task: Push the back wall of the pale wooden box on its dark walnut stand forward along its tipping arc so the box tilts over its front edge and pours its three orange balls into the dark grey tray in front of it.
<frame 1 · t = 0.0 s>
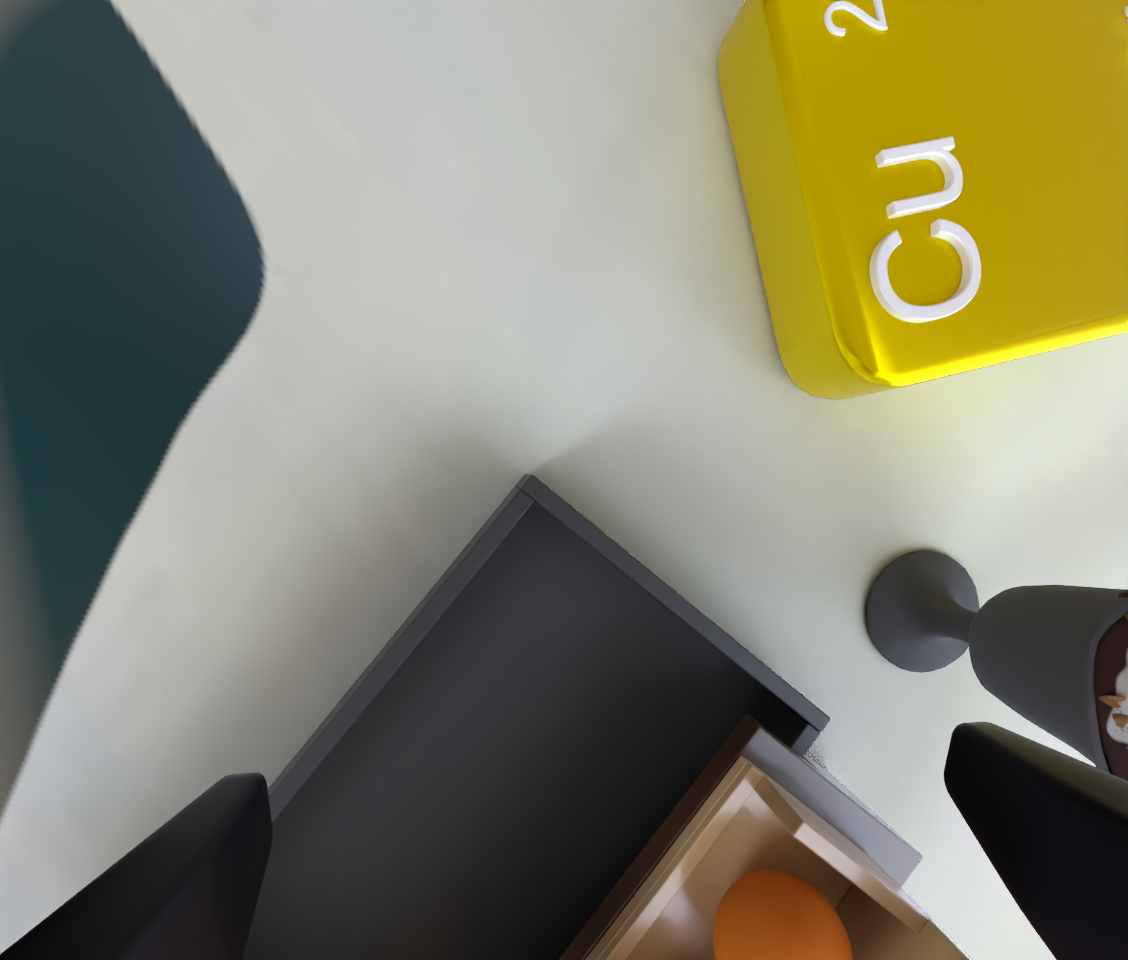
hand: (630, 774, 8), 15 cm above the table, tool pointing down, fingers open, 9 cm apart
sundae: (918, 608, 25), on the table
stand: (630, 895, 24), on the table
dark grey tray: (491, 792, 23), on the table
orange ball 3: (780, 947, 16), point 8 cm above the table, touching wooden box
yellow flat box: (916, 190, 25), on the table
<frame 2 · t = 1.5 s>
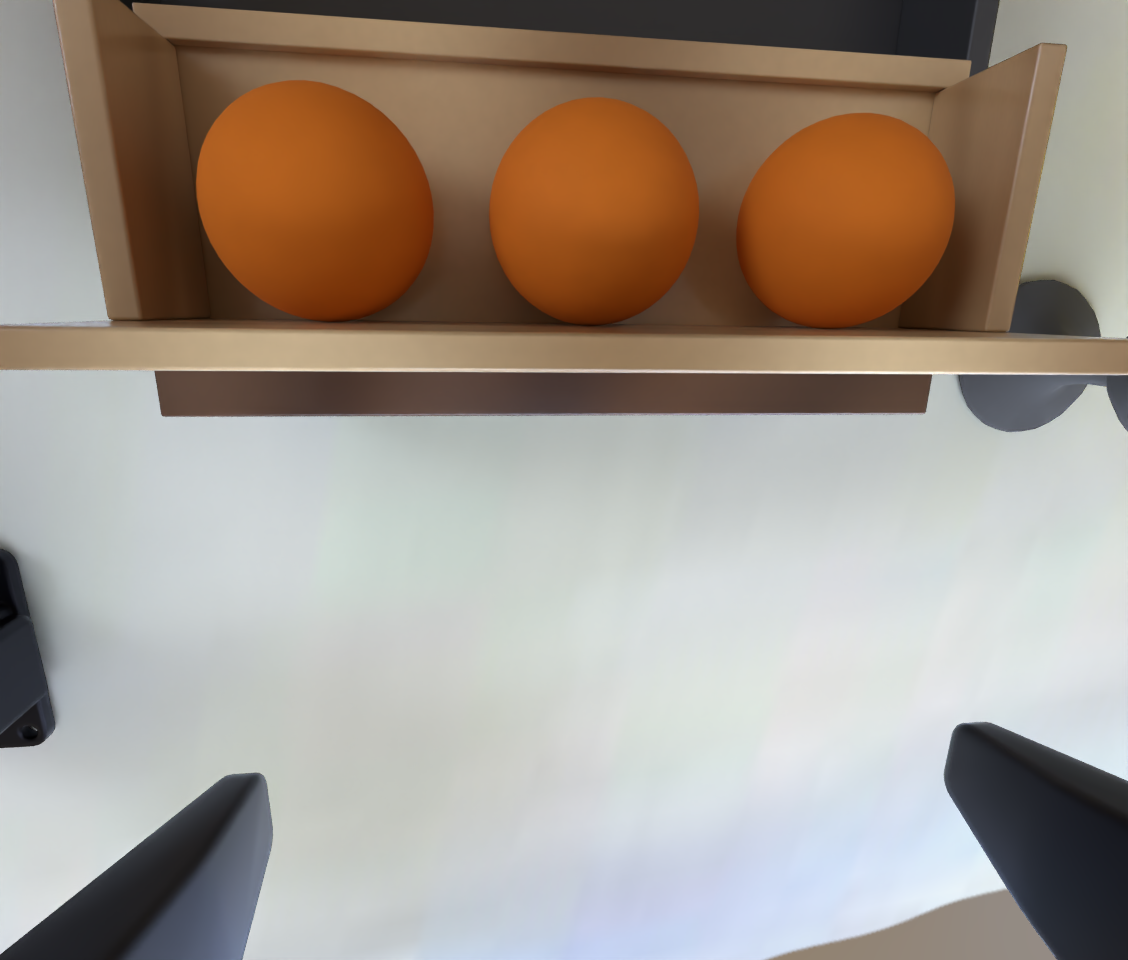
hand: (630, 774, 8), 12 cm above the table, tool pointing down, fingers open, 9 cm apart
orange ball 1: (322, 209, 10), point 8 cm above the table, tilted 16°, touching wooden box
sundae: (1023, 356, 21), on the table
orange ball 2: (593, 218, 10), point 8 cm above the table, tilted 16°, touching wooden box
wooden box: (599, 180, 10), point 8 cm above the table, hinge at -0.1°, touching orange ball 1, orange ball 2, orange ball 3
stand: (549, 265, 18), on the table
orange ball 3: (838, 227, 11), point 8 cm above the table, tilted 16°, touching wooden box
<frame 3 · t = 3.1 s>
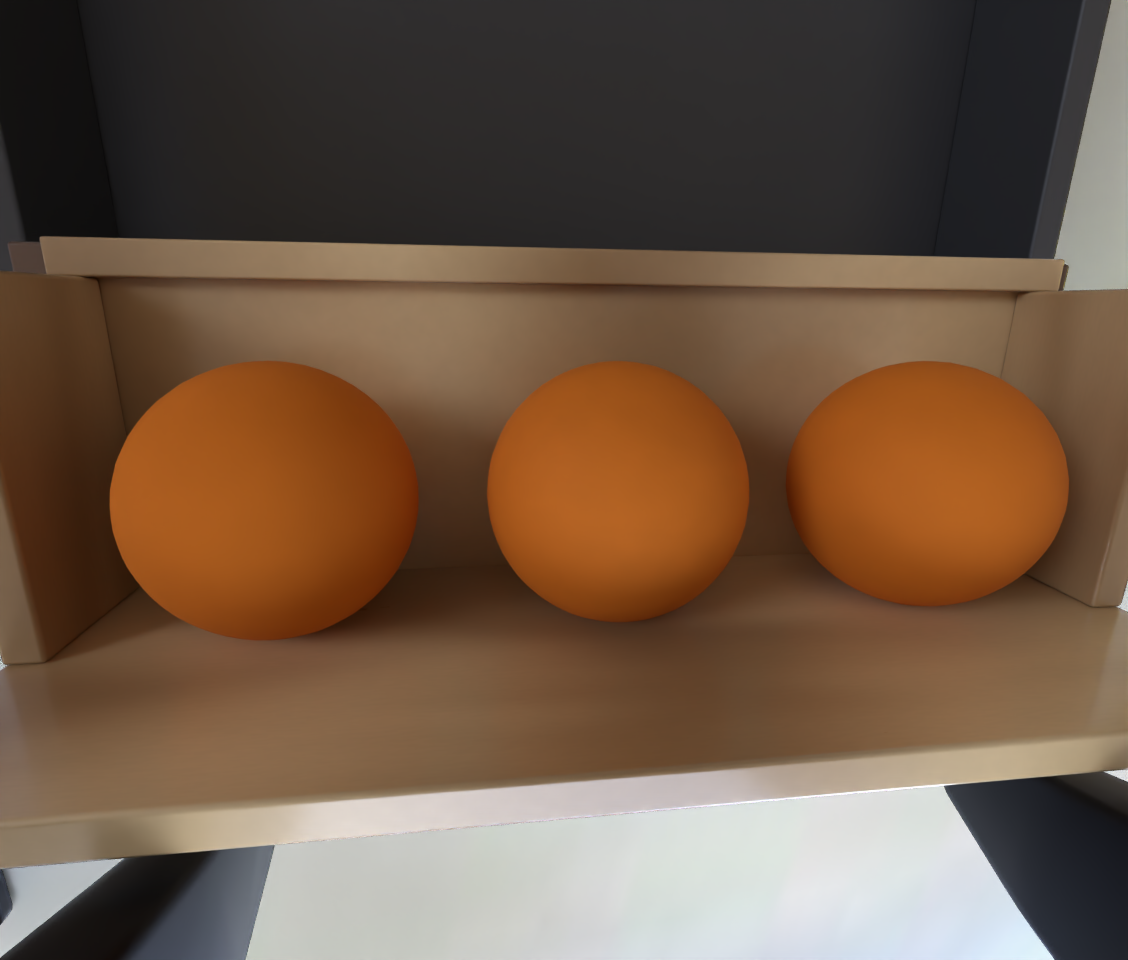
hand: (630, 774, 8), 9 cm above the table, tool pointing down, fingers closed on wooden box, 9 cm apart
orange ball 1: (278, 499, 8), point 8 cm above the table, tilted 15°, touching wooden box
orange ball 2: (615, 491, 8), point 8 cm above the table, tilted 15°, touching wooden box
wooden box: (625, 465, 8), point 8 cm above the table, hinge at 0.7°, touching gripper, orange ball 1, orange ball 2, orange ball 3
stand: (554, 411, 16), on the table
dark grey tray: (556, 111, 14), on the table
orange ball 3: (913, 483, 9), point 8 cm above the table, tilted 15°, touching wooden box
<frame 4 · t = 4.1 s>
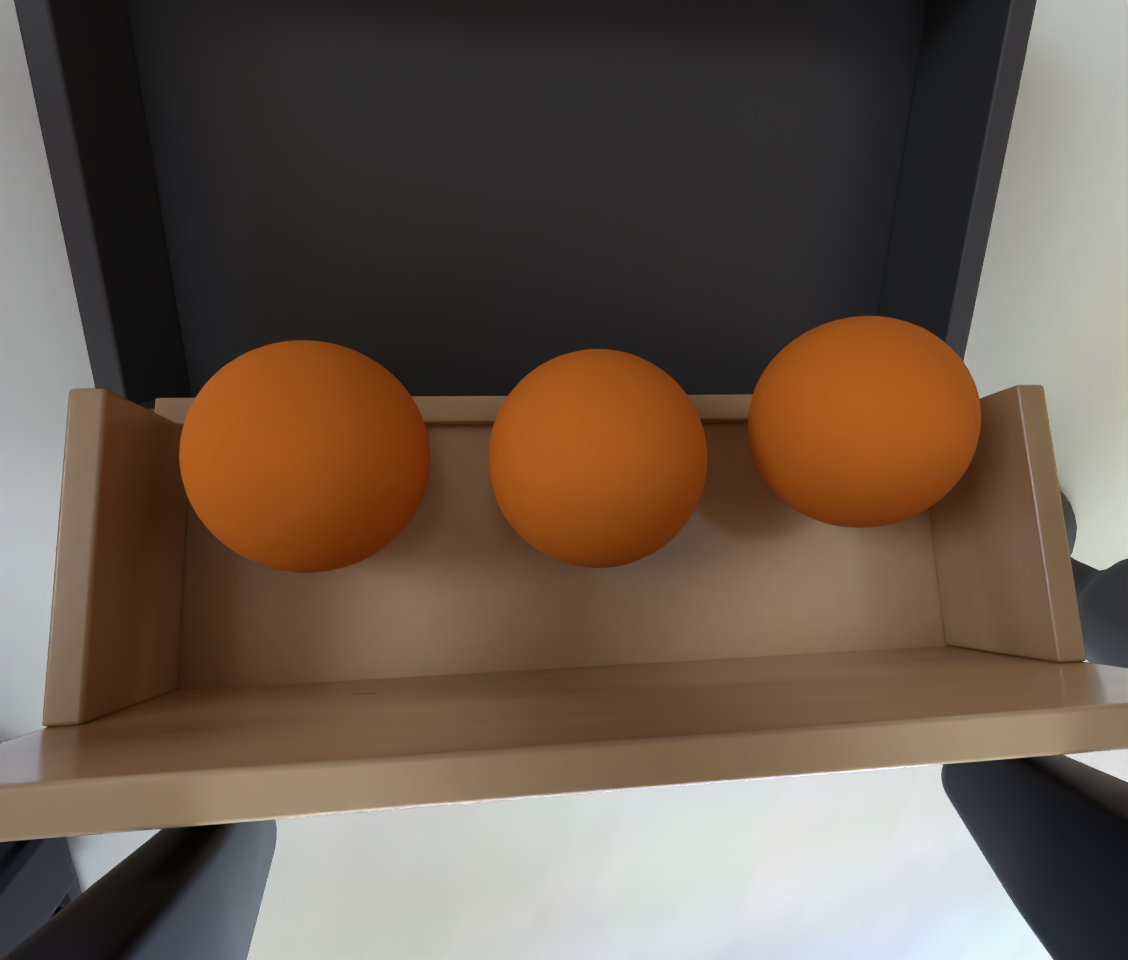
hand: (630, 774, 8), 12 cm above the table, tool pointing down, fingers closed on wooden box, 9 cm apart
orange ball 1: (313, 457, 9), point 8 cm above the table, tilted 70°, touching wooden box
sundae: (1002, 542, 22), on the table
orange ball 2: (596, 459, 10), point 8 cm above the table, tilted 66°, touching wooden box
wooden box: (606, 534, 9), point 9 cm above the table, hinge at 25.9°, touching gripper, orange ball 1, orange ball 2, orange ball 3
dark grey tray: (549, 244, 17), on the table
orange ball 3: (855, 423, 10), point 8 cm above the table, tilted 84°, touching wooden box
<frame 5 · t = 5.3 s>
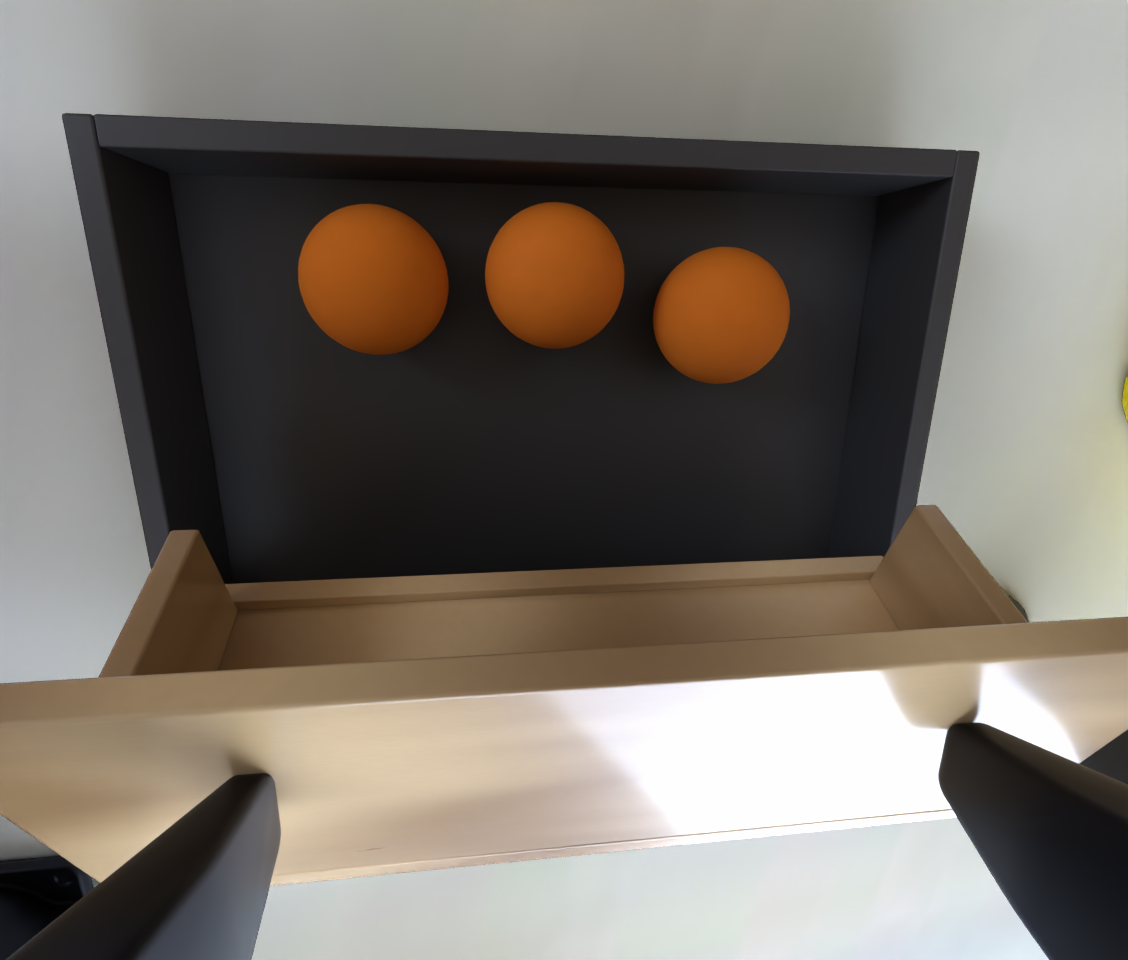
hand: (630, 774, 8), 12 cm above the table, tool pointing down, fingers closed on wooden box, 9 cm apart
orange ball 1: (375, 282, 15), point 2 cm above the table, tilted 29°, touching dark grey tray
sundae: (964, 644, 24), on the table
orange ball 2: (554, 277, 16), point 2 cm above the table, tilted 27°, touching dark grey tray
wooden box: (597, 619, 11), point 9 cm above the table, hinge at 64.3°, touching gripper
dark grey tray: (546, 405, 19), on the table
orange ball 3: (719, 317, 16), point 2 cm above the table, tilted 48°, touching dark grey tray
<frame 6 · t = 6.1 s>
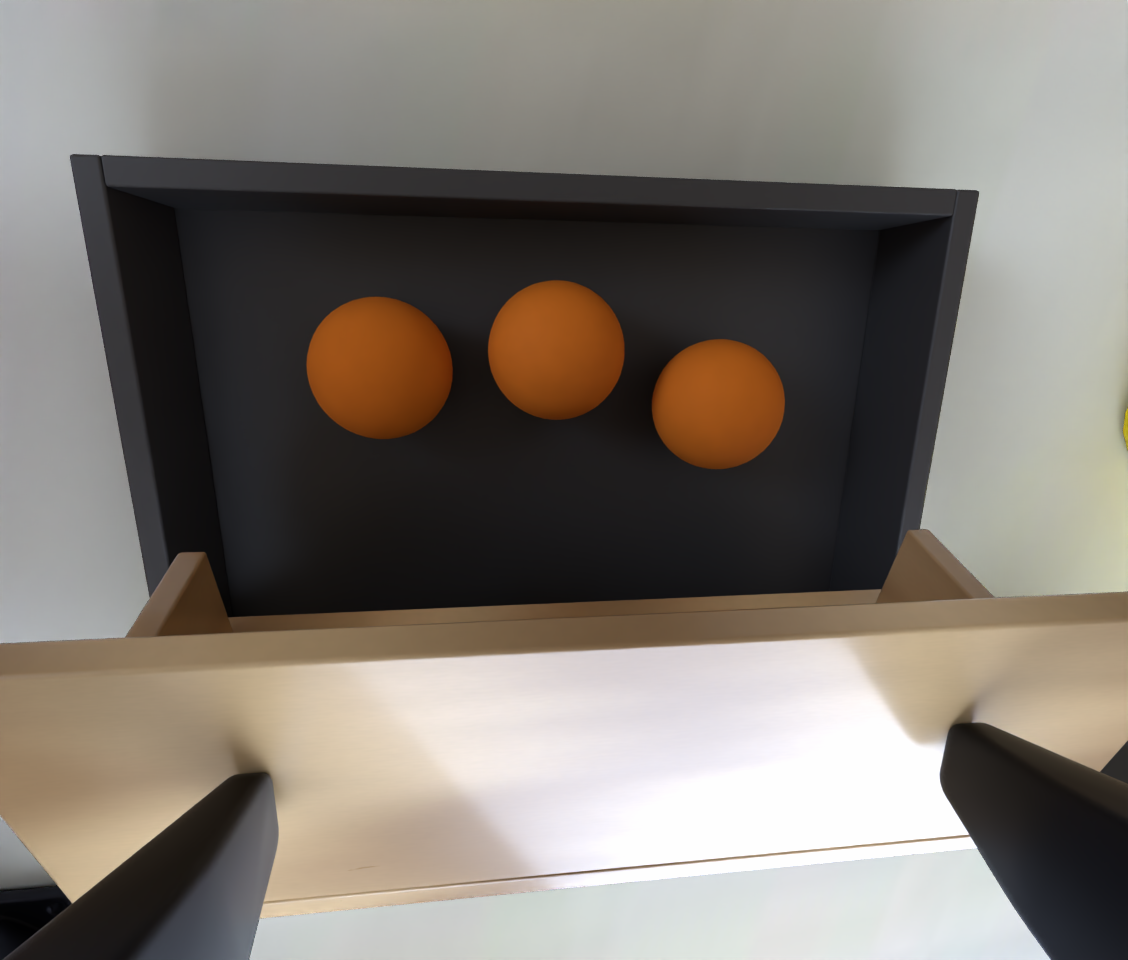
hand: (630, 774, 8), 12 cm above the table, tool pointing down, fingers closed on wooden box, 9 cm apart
orange ball 1: (382, 369, 16), point 2 cm above the table, tilted 71°, touching dark grey tray
sundae: (966, 674, 23), on the table
orange ball 2: (556, 351, 16), point 2 cm above the table, tilted 59°, touching dark grey tray
wooden box: (596, 632, 11), point 9 cm above the table, hinge at 72.4°, touching gripper
dark grey tray: (547, 435, 19), on the table
orange ball 3: (716, 405, 17), point 2 cm above the table, tilted 95°, touching dark grey tray
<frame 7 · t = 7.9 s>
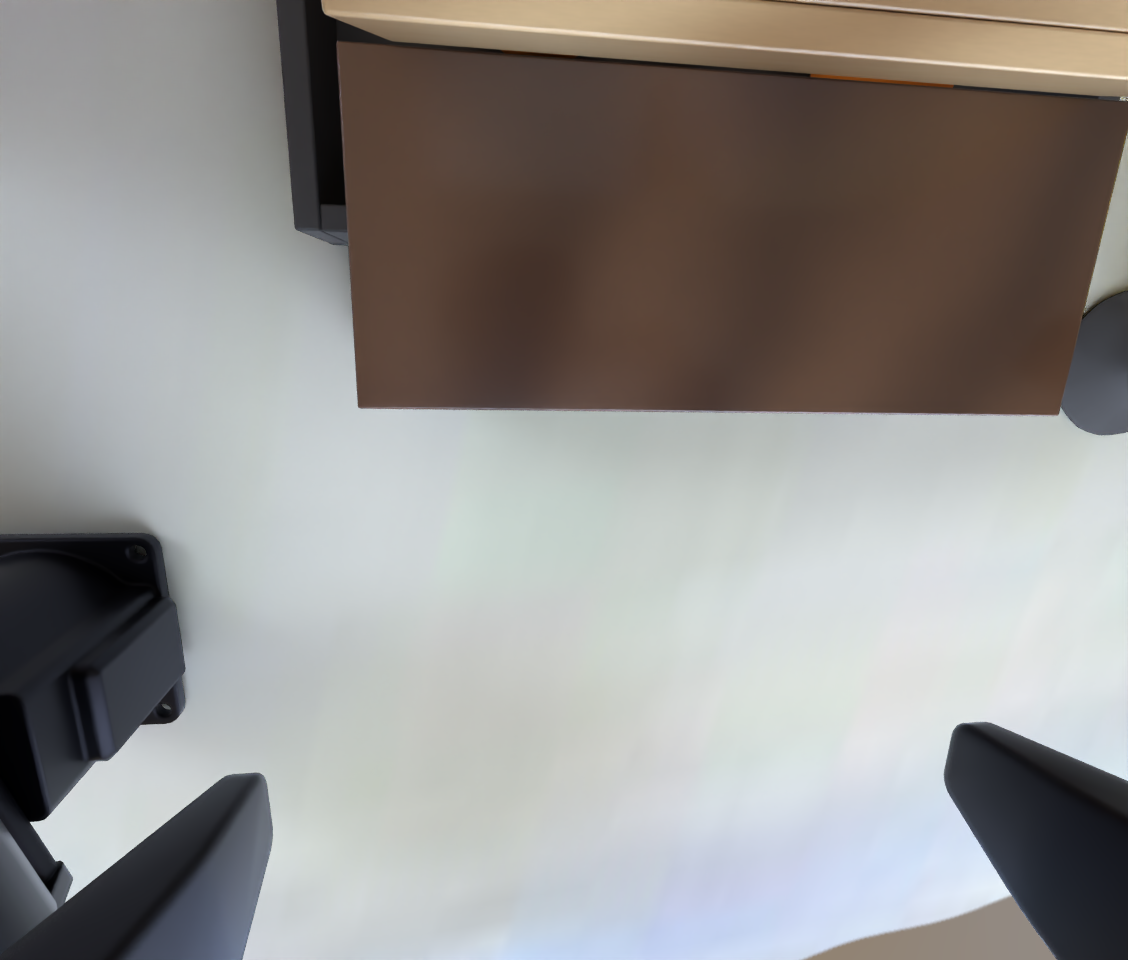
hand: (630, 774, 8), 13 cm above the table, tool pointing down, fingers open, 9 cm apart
sundae: (1117, 362, 21), on the table
stand: (676, 269, 19), on the table
dark grey tray: (695, 4, 17), on the table
orange ball 3: (883, 68, 16), point 2 cm above the table, tilted 159°, touching dark grey tray
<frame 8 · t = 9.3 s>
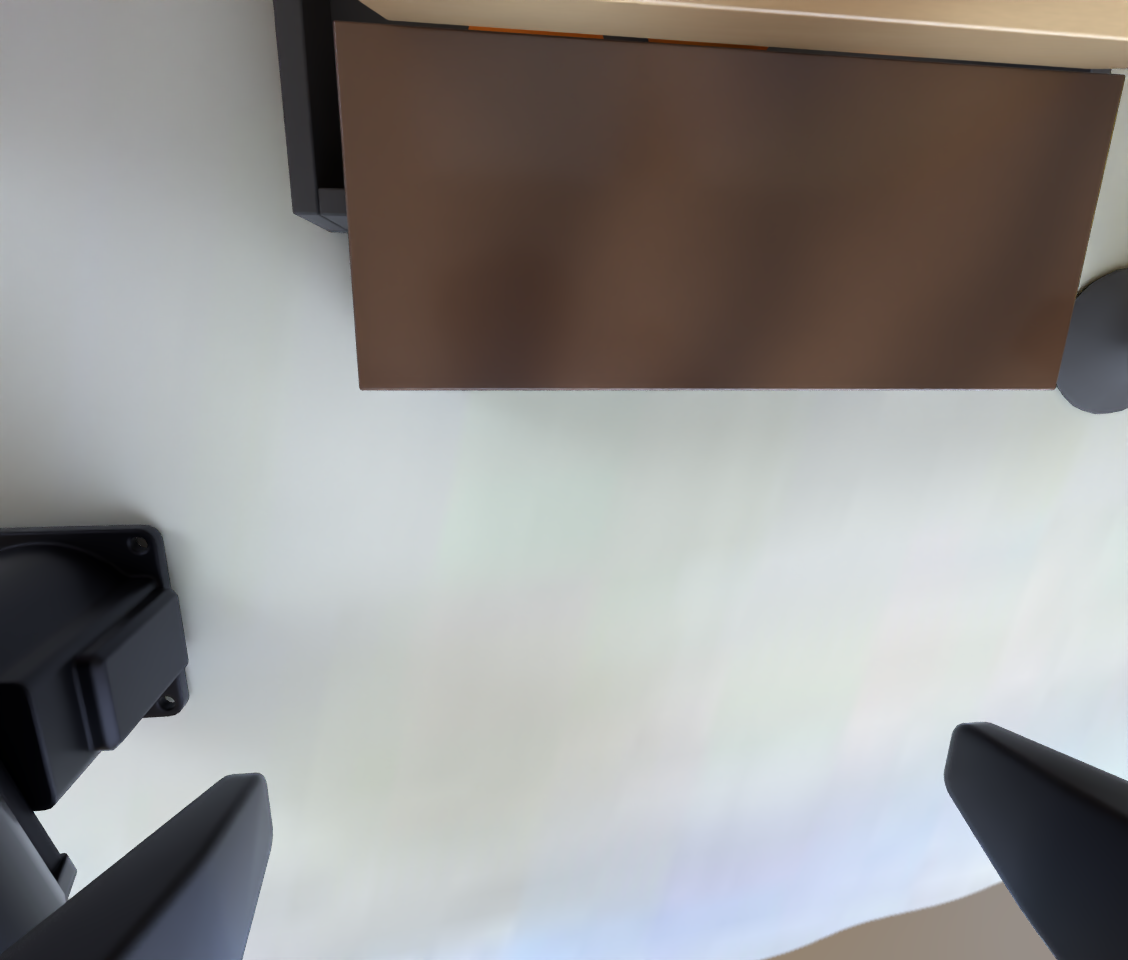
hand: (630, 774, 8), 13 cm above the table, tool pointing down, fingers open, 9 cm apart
orange ball 1: (535, 67, 15), point 2 cm above the table, tilted 122°, touching dark grey tray
sundae: (1111, 341, 22), on the table
orange ball 2: (714, 0, 15), point 2 cm above the table, tilted 175°, touching dark grey tray
stand: (673, 252, 19), on the table
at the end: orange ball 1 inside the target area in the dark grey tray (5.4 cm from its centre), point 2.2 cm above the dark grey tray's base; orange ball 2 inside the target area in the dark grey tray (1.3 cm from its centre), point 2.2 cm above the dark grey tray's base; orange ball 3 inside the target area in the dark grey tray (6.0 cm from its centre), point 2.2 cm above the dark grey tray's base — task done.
